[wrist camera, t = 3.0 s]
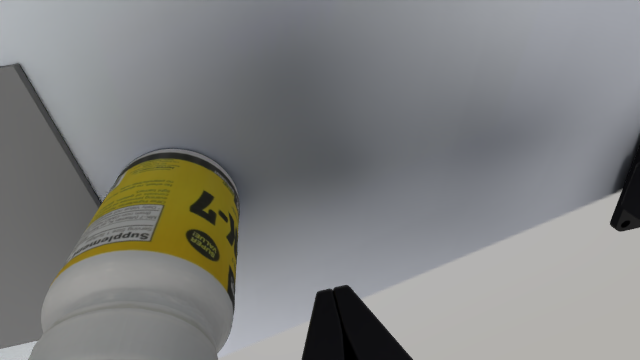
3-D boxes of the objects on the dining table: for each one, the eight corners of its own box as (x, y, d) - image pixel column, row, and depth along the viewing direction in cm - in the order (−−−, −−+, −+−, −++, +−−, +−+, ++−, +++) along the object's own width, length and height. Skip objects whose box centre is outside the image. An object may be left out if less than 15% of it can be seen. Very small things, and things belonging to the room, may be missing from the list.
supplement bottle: (254, 226, 16) (256, 436, 9) (151, 253, 16) (70, 487, 9) (216, 130, 14) (176, 320, 6) (92, 162, 13) (-86, 391, 6)
